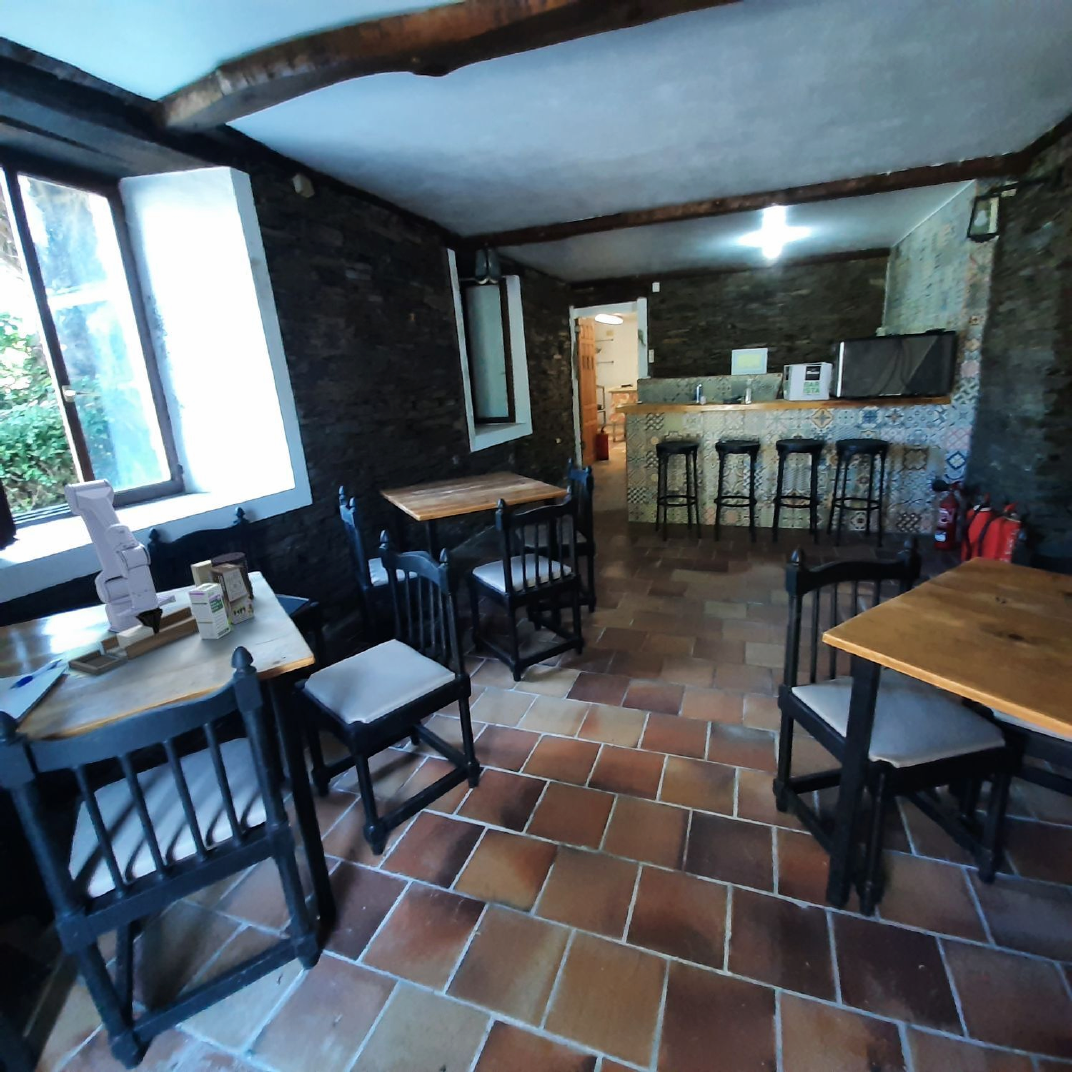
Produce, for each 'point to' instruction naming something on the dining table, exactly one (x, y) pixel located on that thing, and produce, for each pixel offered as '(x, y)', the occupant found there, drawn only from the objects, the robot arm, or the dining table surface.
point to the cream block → (134, 635)
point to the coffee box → (233, 590)
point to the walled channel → (156, 635)
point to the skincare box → (201, 572)
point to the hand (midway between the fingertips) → (154, 634)
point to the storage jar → (236, 560)
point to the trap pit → (96, 662)
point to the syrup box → (210, 611)
